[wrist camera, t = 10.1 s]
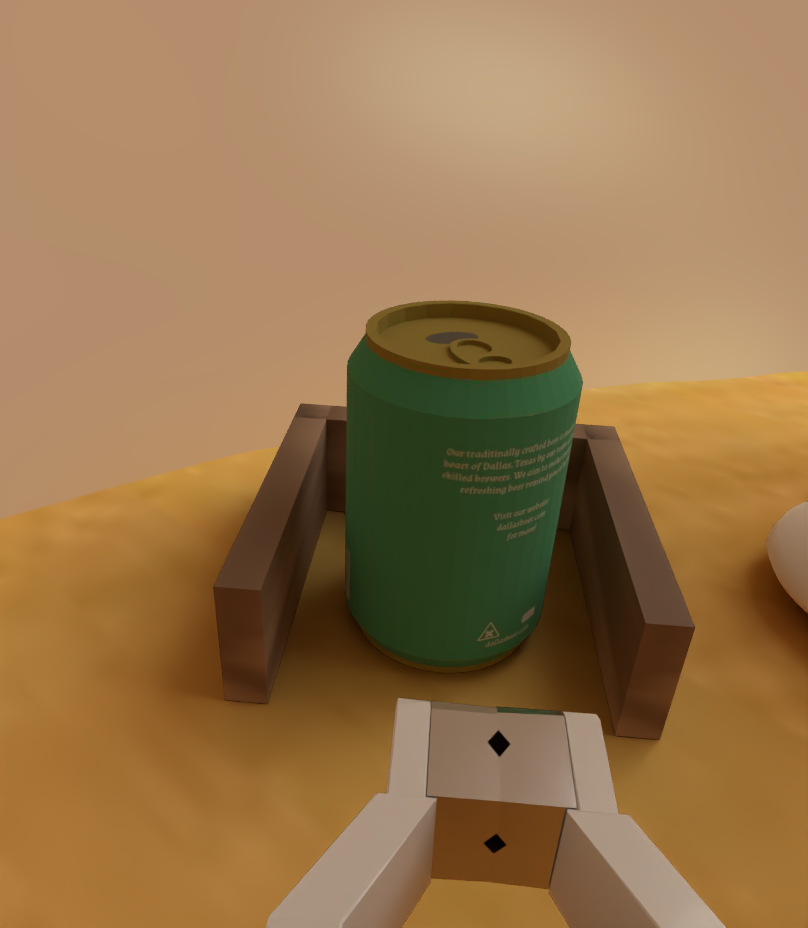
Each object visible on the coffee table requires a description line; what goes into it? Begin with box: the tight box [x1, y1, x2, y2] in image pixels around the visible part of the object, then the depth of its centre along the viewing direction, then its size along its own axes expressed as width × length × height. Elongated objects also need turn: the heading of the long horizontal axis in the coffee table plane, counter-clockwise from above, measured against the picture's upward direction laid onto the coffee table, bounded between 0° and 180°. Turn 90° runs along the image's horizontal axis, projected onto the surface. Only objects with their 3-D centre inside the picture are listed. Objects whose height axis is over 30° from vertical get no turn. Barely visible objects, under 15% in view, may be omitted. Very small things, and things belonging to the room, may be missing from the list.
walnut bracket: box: [213, 404, 695, 740], centre depth 30 cm, size 15×14×5 cm
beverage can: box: [345, 301, 583, 673], centre depth 27 cm, size 8×8×12 cm
